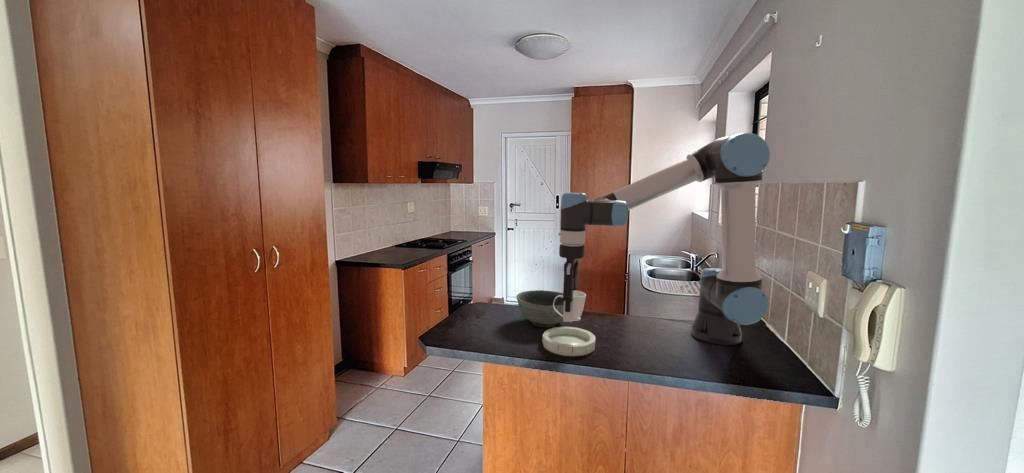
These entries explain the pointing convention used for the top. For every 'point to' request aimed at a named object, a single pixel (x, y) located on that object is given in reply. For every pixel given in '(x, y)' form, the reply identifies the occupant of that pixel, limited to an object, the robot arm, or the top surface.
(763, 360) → the top surface
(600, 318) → the top surface
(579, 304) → the cup
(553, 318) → the bowl
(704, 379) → the top surface
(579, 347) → the tray
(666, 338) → the top surface
